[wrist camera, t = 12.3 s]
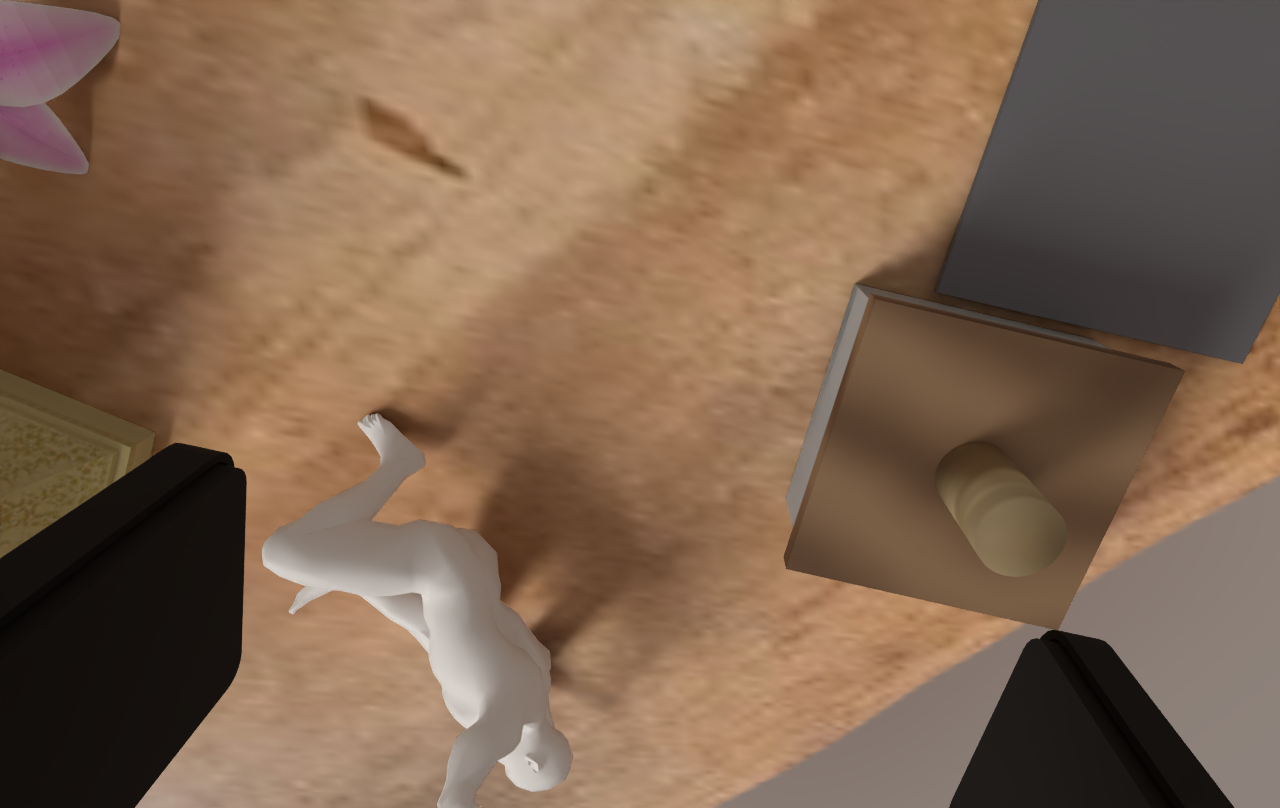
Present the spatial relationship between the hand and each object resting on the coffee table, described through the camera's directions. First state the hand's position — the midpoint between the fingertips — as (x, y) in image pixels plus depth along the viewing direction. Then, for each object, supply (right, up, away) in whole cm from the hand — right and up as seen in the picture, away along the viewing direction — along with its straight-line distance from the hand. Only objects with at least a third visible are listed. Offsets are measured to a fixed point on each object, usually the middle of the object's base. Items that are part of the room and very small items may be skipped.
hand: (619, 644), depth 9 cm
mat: (+22, +13, +24) cm, 35 cm away
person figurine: (-8, -6, +33) cm, 35 cm away
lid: (+14, 0, +24) cm, 27 cm away
